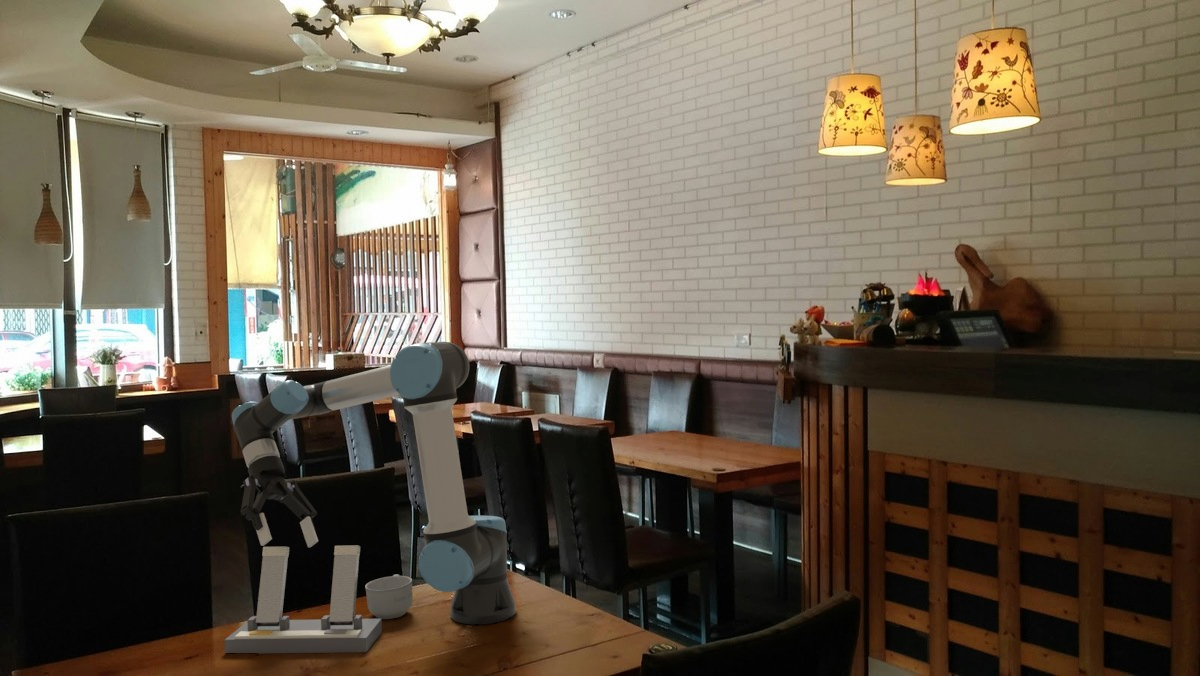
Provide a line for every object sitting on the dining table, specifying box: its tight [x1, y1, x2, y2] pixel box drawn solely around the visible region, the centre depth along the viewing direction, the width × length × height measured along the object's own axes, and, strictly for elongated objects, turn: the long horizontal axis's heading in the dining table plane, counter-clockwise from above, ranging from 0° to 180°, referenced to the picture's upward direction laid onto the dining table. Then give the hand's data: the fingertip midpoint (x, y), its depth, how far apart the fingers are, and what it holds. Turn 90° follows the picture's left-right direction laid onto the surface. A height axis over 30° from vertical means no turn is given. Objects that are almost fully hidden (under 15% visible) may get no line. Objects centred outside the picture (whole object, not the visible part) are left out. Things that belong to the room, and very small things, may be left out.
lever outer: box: [255, 546, 290, 627], centre depth 196 cm, size 5×2×17 cm, turn 89°
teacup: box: [364, 574, 414, 620], centre depth 212 cm, size 14×11×8 cm
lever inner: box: [329, 544, 361, 626], centre depth 195 cm, size 5×2×17 cm, turn 89°
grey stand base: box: [224, 614, 383, 654], centre depth 193 cm, size 30×12×6 cm, turn 89°
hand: (290, 543), depth 197 cm, fingers open, 13 cm apart
